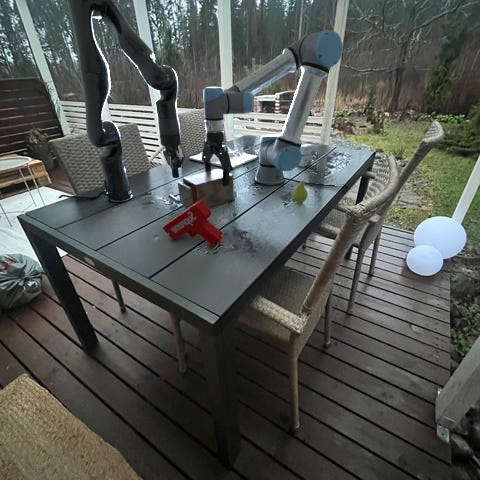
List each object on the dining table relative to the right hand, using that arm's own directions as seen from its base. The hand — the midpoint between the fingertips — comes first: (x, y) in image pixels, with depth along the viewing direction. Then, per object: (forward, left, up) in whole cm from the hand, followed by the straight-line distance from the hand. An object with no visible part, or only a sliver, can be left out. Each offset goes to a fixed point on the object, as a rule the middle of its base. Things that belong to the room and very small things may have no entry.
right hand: (217, 181), depth 121 cm
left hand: (+10, +16, +6) cm, 20 cm away
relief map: (+21, -60, -8) cm, 64 cm away
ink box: (-31, -62, -8) cm, 70 cm away
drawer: (+6, +9, -7) cm, 13 cm away
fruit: (-36, -7, -8) cm, 38 cm away
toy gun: (-5, +36, -8) cm, 37 cm away
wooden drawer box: (+2, +4, -8) cm, 10 cm away
